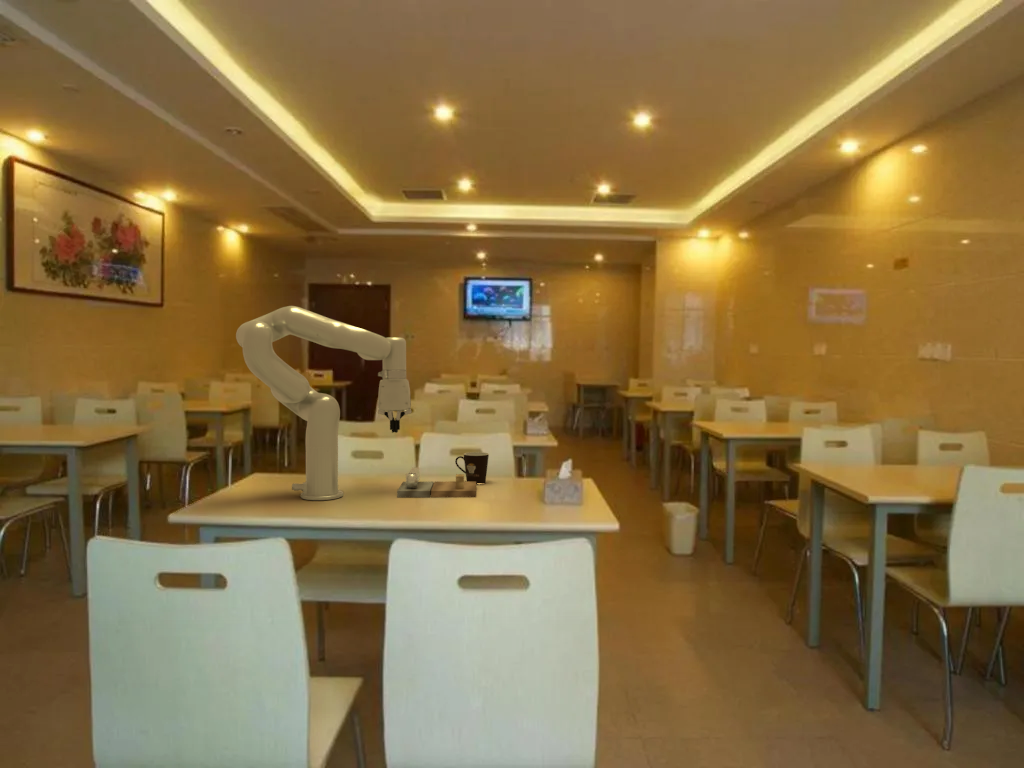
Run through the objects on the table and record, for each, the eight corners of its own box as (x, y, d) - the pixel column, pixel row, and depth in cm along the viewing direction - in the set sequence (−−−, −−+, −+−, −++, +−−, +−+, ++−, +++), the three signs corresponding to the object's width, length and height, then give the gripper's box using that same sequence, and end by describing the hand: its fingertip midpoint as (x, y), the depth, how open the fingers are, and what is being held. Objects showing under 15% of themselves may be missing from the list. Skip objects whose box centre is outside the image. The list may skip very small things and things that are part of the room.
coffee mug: (493, 483, 235) (493, 454, 235) (473, 486, 230) (473, 456, 229) (473, 478, 244) (473, 450, 244) (453, 481, 238) (453, 452, 238)
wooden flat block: (397, 497, 210) (397, 477, 210) (403, 487, 226) (403, 469, 226) (475, 497, 211) (475, 477, 211) (476, 487, 227) (476, 469, 227)
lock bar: (417, 487, 213) (417, 475, 213) (405, 488, 213) (405, 475, 213) (421, 479, 228) (421, 467, 228) (410, 479, 228) (410, 467, 228)
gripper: (369, 376, 218) (369, 433, 219) (416, 375, 219) (417, 433, 220) (373, 375, 226) (373, 431, 226) (418, 375, 226) (419, 430, 227)
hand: (394, 432), depth 223 cm, fingers closed
